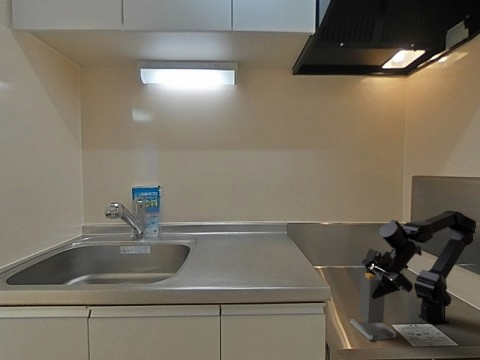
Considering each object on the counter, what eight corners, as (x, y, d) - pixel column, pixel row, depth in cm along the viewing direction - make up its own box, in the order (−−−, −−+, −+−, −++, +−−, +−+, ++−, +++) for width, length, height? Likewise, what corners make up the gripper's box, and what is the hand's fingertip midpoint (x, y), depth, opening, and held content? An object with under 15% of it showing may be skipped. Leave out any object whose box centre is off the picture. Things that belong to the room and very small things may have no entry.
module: (373, 315, 102) (375, 271, 102) (383, 322, 98) (385, 276, 97) (359, 316, 102) (361, 271, 101) (367, 323, 97) (370, 276, 97)
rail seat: (374, 321, 106) (374, 316, 106) (396, 337, 95) (396, 332, 95) (350, 323, 104) (350, 319, 104) (369, 340, 94) (369, 335, 94)
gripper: (365, 234, 109) (336, 269, 107) (402, 246, 91) (367, 288, 89) (387, 255, 110) (358, 290, 109) (428, 271, 92) (393, 314, 90)
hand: (367, 294), depth 99 cm, fingers closed on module, 5 cm apart
